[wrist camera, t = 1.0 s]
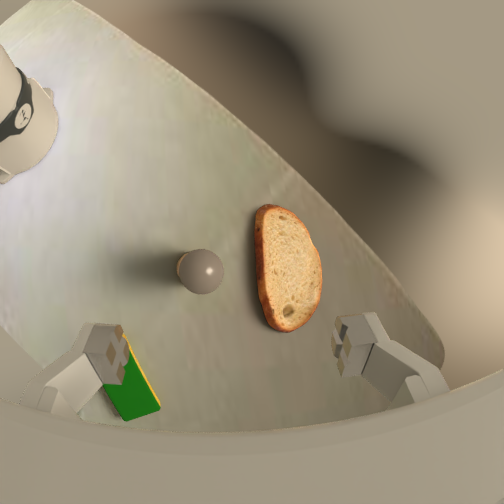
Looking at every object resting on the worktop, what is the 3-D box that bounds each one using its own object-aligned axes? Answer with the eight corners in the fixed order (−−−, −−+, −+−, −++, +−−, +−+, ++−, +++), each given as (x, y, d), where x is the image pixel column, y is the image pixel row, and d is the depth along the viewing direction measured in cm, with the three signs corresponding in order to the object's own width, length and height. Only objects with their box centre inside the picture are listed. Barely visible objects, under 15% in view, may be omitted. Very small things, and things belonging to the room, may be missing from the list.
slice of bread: (266, 195, 50) (274, 191, 47) (342, 255, 54) (354, 255, 51) (206, 286, 47) (210, 288, 43) (292, 339, 51) (302, 345, 48)
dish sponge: (125, 415, 42) (124, 422, 40) (87, 346, 41) (83, 350, 39) (161, 403, 44) (161, 409, 42) (124, 332, 43) (122, 335, 41)
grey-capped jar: (170, 278, 45) (172, 285, 34) (183, 246, 46) (188, 242, 35) (203, 290, 46) (214, 300, 36) (215, 258, 47) (230, 258, 37)
